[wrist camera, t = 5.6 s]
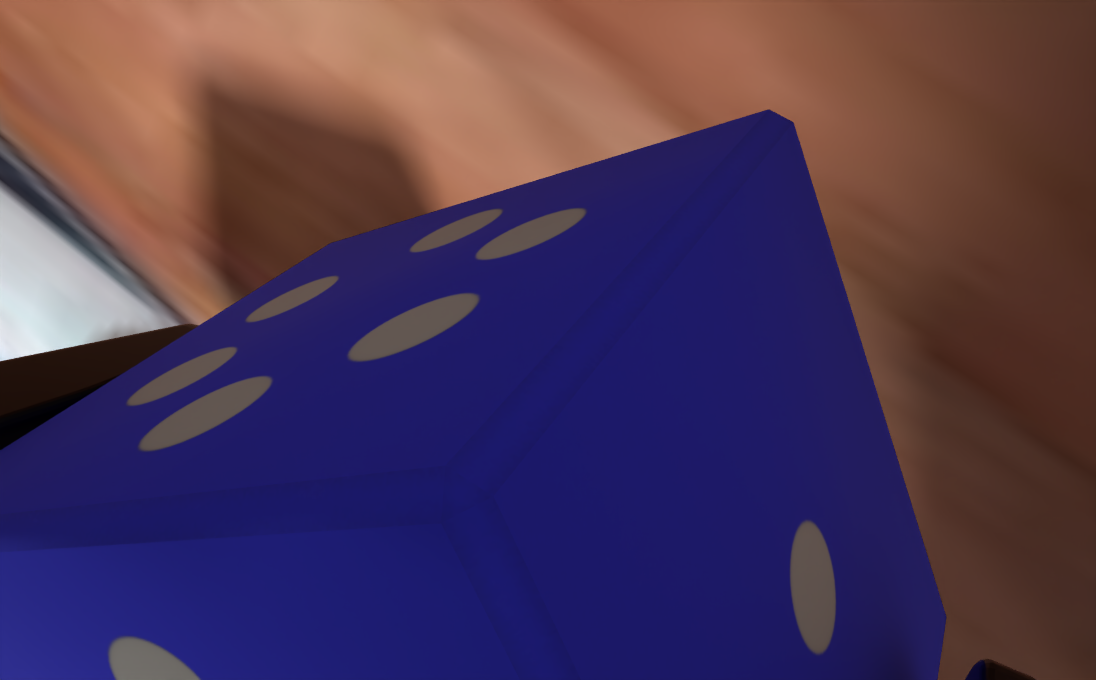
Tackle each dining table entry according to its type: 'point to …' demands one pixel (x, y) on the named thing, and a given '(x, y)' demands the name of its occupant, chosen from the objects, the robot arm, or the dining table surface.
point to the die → (496, 456)
